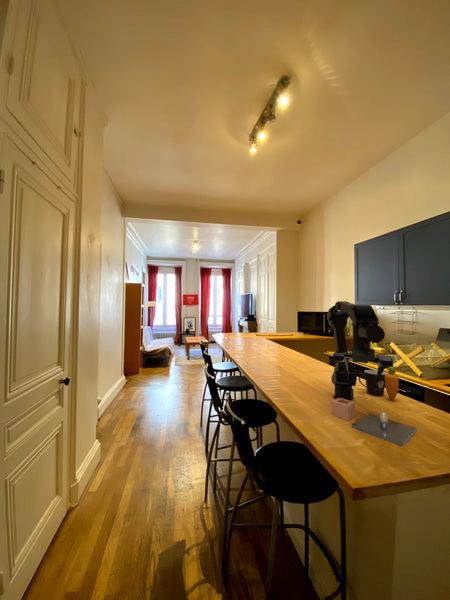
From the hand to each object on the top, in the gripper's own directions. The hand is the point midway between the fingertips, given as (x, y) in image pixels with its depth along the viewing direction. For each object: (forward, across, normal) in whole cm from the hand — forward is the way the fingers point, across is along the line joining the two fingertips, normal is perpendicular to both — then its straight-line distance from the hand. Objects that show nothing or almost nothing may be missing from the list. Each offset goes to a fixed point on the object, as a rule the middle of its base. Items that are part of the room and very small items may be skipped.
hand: (362, 382), depth 88 cm
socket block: (+12, -6, -2) cm, 14 cm away
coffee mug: (+13, +2, +31) cm, 33 cm away
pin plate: (+12, +6, -6) cm, 15 cm away
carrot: (+13, +9, +25) cm, 30 cm away
